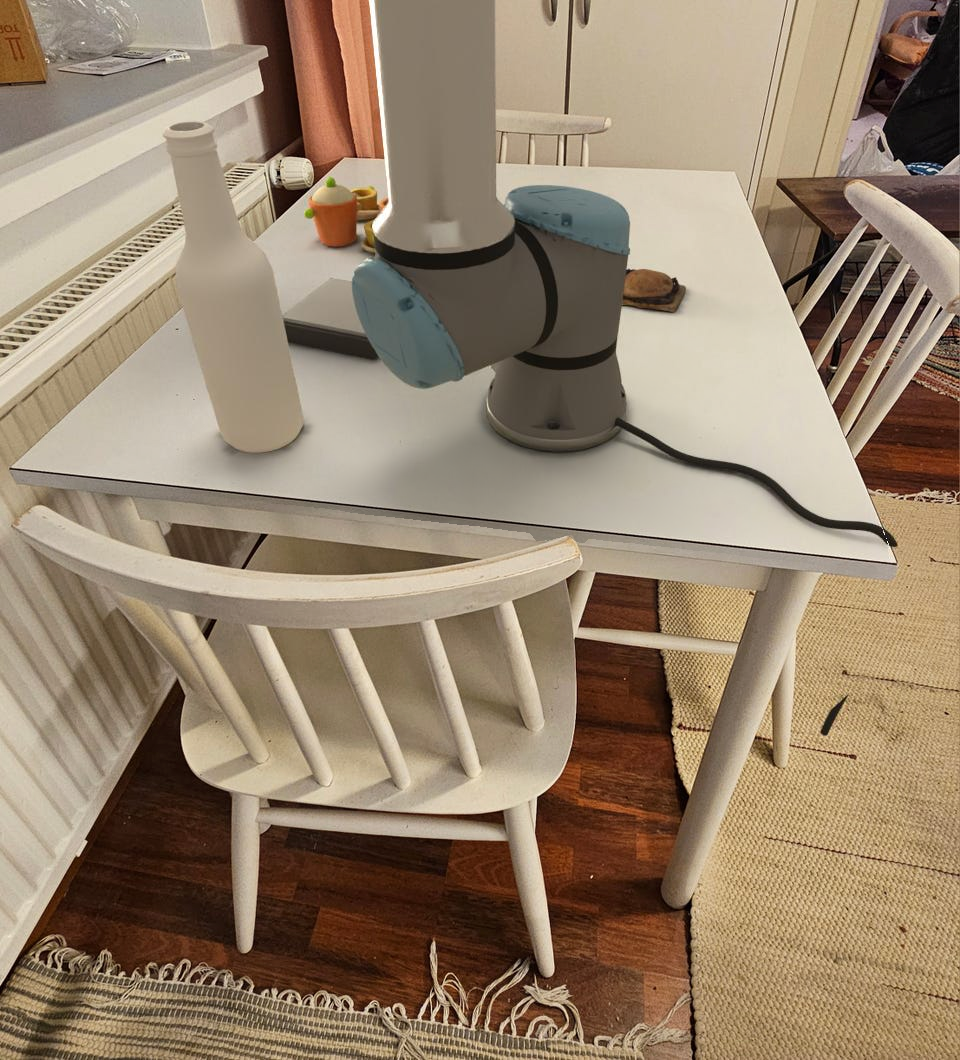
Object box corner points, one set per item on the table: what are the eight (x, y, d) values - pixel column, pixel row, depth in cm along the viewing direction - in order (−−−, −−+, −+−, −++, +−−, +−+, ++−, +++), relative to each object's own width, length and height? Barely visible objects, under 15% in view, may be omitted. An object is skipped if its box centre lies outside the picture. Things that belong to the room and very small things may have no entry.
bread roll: (687, 290, 106) (692, 264, 103) (673, 315, 100) (678, 289, 97) (614, 278, 109) (617, 252, 106) (596, 301, 103) (599, 275, 101)
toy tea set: (399, 260, 114) (393, 194, 108) (303, 253, 117) (292, 189, 110) (440, 201, 133) (437, 142, 127) (357, 196, 136) (350, 138, 129)
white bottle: (228, 463, 77) (132, 147, 57) (217, 419, 83) (127, 119, 63) (313, 444, 79) (249, 133, 59) (296, 402, 85) (234, 107, 65)
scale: (425, 311, 102) (423, 290, 100) (376, 360, 92) (373, 338, 90) (334, 295, 106) (331, 274, 104) (278, 340, 96) (274, 319, 94)
